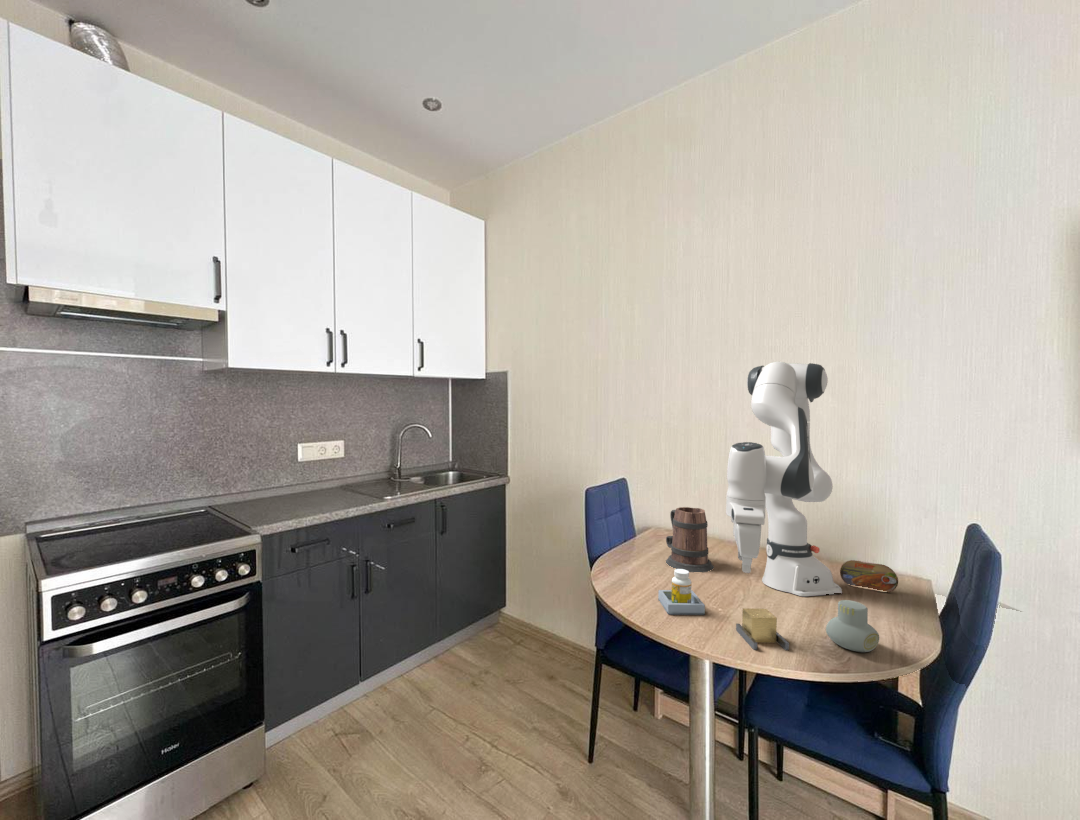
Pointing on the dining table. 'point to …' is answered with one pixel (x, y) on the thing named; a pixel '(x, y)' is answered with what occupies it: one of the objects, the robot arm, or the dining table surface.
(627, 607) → the dining table surface
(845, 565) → the tin
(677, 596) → the supplement bottle
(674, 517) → the tankard
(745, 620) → the block
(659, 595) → the tray
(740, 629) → the piston track
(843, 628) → the grey rounded piece
